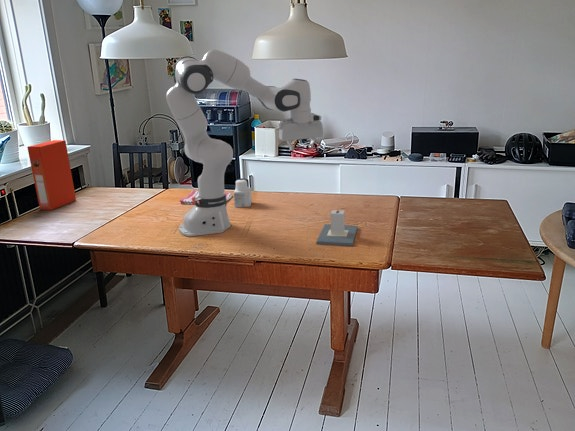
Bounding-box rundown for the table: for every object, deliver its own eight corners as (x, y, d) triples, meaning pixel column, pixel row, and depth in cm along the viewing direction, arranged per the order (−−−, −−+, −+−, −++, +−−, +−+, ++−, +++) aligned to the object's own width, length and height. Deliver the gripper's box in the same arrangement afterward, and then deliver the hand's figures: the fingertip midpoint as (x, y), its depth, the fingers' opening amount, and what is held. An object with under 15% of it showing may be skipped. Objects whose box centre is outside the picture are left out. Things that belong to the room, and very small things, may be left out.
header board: (324, 226, 219) (324, 218, 218) (357, 228, 216) (357, 220, 214) (316, 243, 200) (316, 235, 199) (352, 246, 197) (352, 237, 196)
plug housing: (332, 230, 210) (332, 209, 207) (344, 231, 209) (344, 210, 206) (330, 234, 206) (330, 213, 203) (343, 235, 205) (343, 213, 202)
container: (236, 202, 257) (235, 177, 252) (251, 202, 256) (250, 177, 252) (234, 207, 249) (232, 181, 245) (250, 206, 249) (248, 181, 245)
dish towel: (192, 195, 273) (191, 189, 272) (233, 197, 268) (233, 190, 267) (179, 205, 257) (178, 198, 256) (222, 206, 252) (222, 200, 251)
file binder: (39, 209, 256) (27, 146, 246) (63, 199, 272) (53, 140, 261) (52, 210, 254) (40, 147, 243) (76, 200, 269) (65, 140, 259)
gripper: (282, 120, 212) (283, 153, 216) (324, 116, 221) (324, 147, 225) (275, 118, 217) (277, 150, 222) (317, 114, 226) (317, 145, 230)
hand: (301, 149), depth 224 cm, fingers open, 8 cm apart
